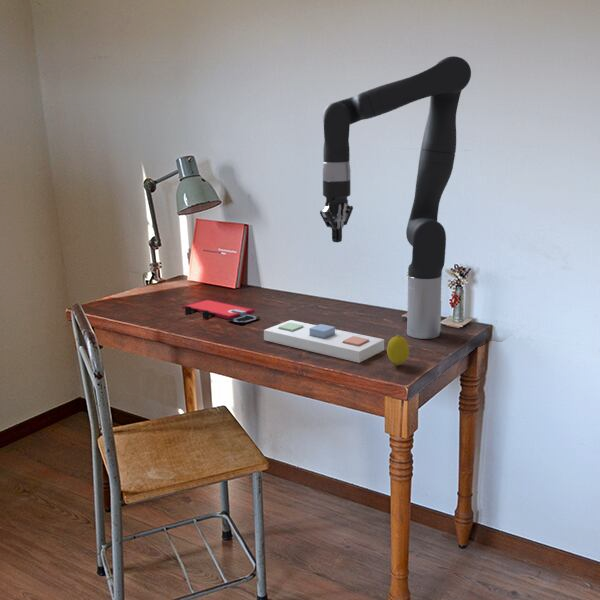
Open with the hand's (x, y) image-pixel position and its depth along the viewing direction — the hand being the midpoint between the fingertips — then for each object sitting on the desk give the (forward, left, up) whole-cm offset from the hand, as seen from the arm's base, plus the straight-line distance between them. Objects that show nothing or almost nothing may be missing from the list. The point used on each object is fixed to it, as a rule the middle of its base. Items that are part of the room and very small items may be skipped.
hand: (336, 241), depth 197 cm
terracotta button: (+10, +13, -26) cm, 31 cm away
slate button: (+10, +2, -25) cm, 27 cm away
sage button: (+10, -9, -26) cm, 29 cm away
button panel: (+10, +2, -27) cm, 29 cm away
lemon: (+12, +27, -27) cm, 40 cm away
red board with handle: (+3, -43, -28) cm, 52 cm away
